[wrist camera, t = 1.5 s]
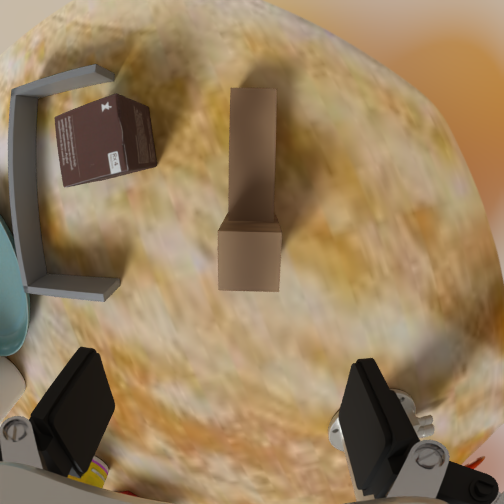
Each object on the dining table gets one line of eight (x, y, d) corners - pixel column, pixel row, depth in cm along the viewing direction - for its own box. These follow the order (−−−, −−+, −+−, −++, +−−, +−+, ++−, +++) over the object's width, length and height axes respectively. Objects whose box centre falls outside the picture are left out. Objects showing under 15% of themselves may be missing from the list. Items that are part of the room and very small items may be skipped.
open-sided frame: (114, 73, 24) (95, 63, 20) (120, 285, 30) (104, 301, 27) (33, 93, 24) (11, 89, 20) (43, 279, 30) (24, 292, 27)
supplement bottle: (94, 451, 40) (69, 505, 27) (116, 472, 42) (97, 525, 29) (70, 450, 41) (45, 499, 28) (92, 471, 42) (72, 519, 30)
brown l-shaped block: (279, 96, 25) (286, 76, 18) (274, 261, 29) (279, 291, 23) (229, 95, 25) (220, 75, 18) (227, 260, 29) (218, 290, 23)
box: (95, 121, 26) (52, 115, 19) (150, 105, 25) (118, 90, 18) (103, 180, 27) (62, 189, 20) (159, 168, 27) (127, 171, 20)
